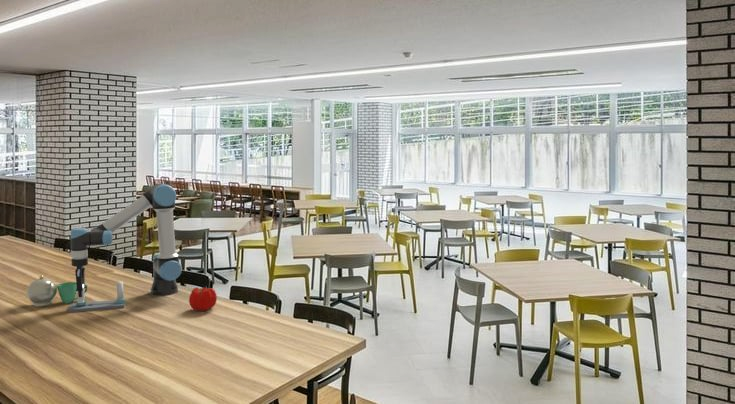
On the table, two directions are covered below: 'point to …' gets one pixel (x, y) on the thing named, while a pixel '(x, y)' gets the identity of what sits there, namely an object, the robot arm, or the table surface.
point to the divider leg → (84, 300)
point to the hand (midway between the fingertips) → (81, 301)
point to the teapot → (42, 292)
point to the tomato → (202, 299)
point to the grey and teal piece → (102, 303)
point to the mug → (68, 291)
